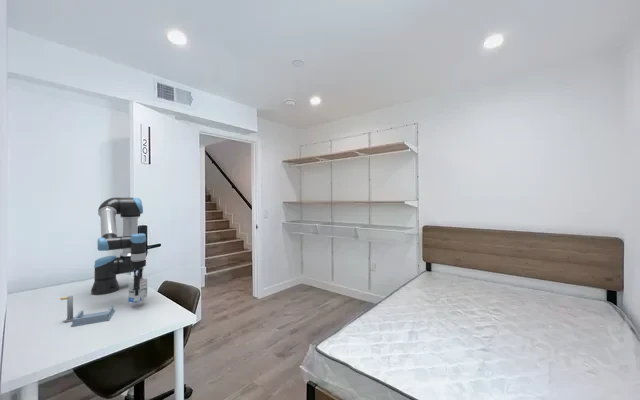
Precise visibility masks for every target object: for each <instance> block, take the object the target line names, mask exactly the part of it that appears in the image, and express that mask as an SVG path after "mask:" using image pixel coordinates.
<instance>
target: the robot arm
mask: <svg viewBox="0 0 640 400" xmlns="http://www.w3.org/2000/svg"><path fill="white" fill-rule="evenodd" d="M97 212H98V213H97V214H98V216H99V217H100V234H101V237H99V238H97V242H96V243H97V245H96V246H97V251H98V252H103V251H104V252H105V251H106V252H107V251H115V250H116V251H117V250H122V252H121V253H120V255H119V256H118V257H117V255H108V256H104V257H100V258H97V259H95V261H94V266H93V268H94V282H93V283H92V284H93V285H92V286H91V290H90V294H91V295H106V294H110V293H114V292H117V291H119V290H120V284H119V282H118V280H117V275H120V274H128V273H133V280H134V289H132V290H134V301H138V302H140V301H141V300H140V288H139V287H140V278H143V268H145V267H146V265H147V260H146V259H147V237H146V236H147V235H146V233H143V232H141V233H138V230H139V229H138V227H139V226H138V225H139V221H138V220H139V218H141V215H142V214H144V207H143V202H142V200H141V198H139V197H111V198H108V199H106V200H104V201H103V202H102V203H101V204H100V206H99V207H98V209H97ZM117 215H120V218H122V236H118V229H117V221H116V220H117V219H116V216H117ZM135 287H137V288H135Z"/></svg>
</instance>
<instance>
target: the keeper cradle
mask: <svg viewBox="0 0 640 400" xmlns="http://www.w3.org/2000/svg"><path fill="white" fill-rule="evenodd" d="M64 300H67V301H66V303H67V305H66V308H67V310H66V318H65V319H64V321H63V323H62V324H64V323H65V324H66V323H72V324H70V327H72V328H74V327H79V326H85V325H90V324H91V325H92V324H96V323H102V322H108V321H110V320H111V319H112V317H113V315H114V313H115V312H116V310H115V309H114V307H115V306H113V305H112V306H110V308H109V309H108V310H107V311H106V310H105V311H99V312H92V313H86V314H84V310H80V311H79V312H78V313H77V314H76V315H75V316H74V295H68V296H65V297H60V301H64Z"/></svg>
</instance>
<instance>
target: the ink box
mask: <svg viewBox="0 0 640 400" xmlns="http://www.w3.org/2000/svg"><path fill="white" fill-rule="evenodd" d="M135 288H137V287H135ZM139 288H140V301H142V300H145V299H147V298H148V278H146V277H142V278H140V287H139ZM132 289H134V279H132V280H130V281H128V303H137V302H139V301H134V290H132Z"/></svg>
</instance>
